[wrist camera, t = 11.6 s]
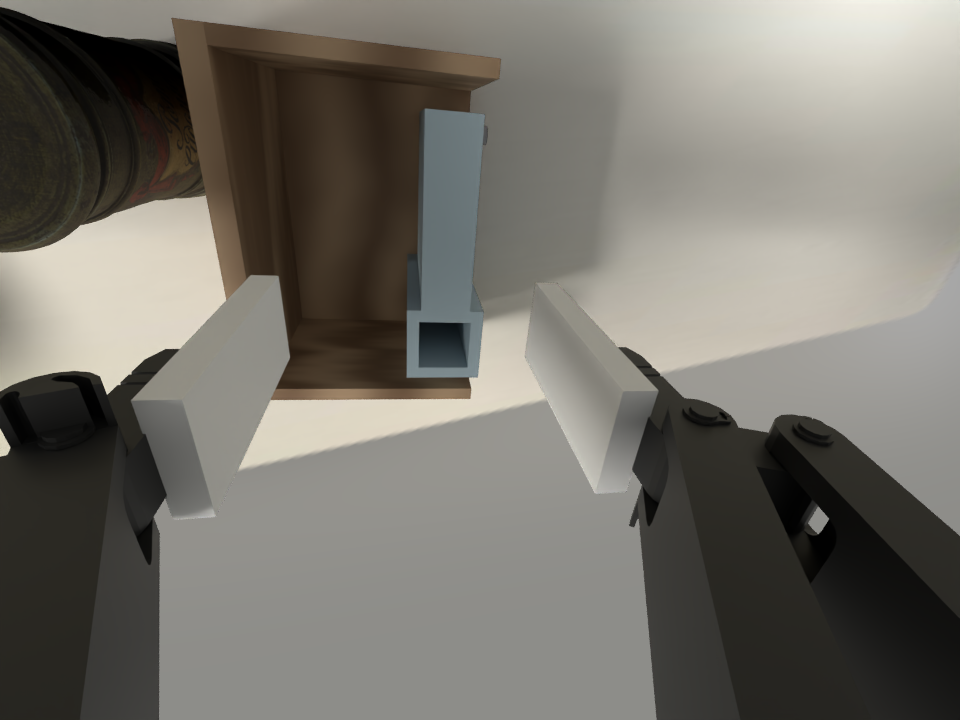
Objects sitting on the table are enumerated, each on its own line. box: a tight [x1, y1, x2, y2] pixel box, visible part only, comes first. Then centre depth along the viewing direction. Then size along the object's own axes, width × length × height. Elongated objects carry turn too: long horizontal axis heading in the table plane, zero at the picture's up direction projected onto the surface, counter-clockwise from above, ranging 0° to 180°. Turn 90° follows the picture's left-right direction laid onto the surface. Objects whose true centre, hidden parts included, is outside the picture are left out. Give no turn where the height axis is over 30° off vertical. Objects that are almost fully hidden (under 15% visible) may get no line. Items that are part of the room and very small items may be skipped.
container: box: [0, 7, 206, 252], centre depth 22 cm, size 9×9×18 cm
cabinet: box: [172, 18, 501, 400], centre depth 29 cm, size 14×19×12 cm
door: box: [407, 109, 488, 378], centre depth 29 cm, size 5×14×12 cm, turn 175°
